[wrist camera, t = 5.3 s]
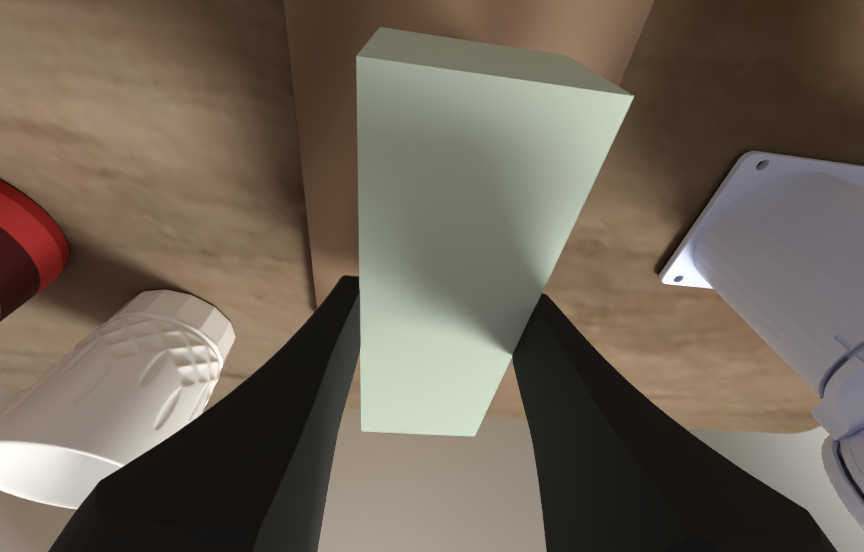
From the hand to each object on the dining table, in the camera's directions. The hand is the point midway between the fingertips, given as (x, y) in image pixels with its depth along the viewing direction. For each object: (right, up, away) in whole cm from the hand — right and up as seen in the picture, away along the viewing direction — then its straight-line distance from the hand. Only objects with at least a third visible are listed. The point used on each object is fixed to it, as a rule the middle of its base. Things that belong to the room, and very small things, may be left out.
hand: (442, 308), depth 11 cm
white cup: (-17, -2, +13) cm, 22 cm away
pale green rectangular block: (0, +2, +3) cm, 3 cm away
